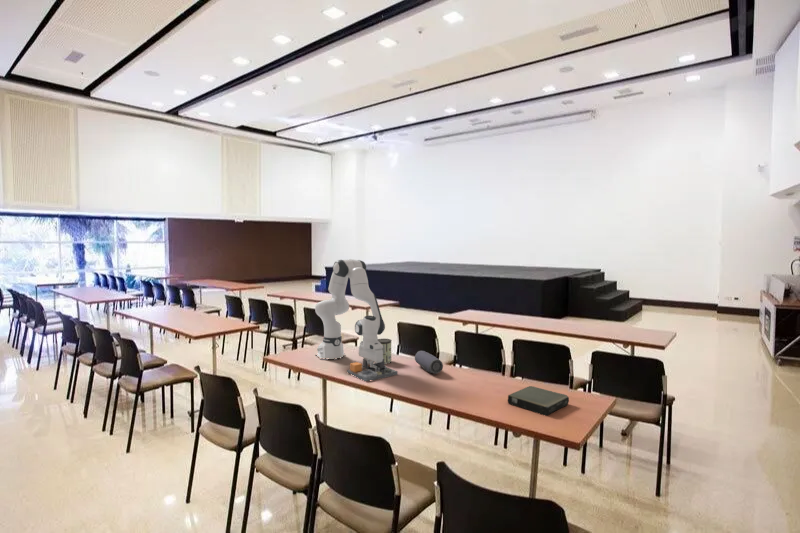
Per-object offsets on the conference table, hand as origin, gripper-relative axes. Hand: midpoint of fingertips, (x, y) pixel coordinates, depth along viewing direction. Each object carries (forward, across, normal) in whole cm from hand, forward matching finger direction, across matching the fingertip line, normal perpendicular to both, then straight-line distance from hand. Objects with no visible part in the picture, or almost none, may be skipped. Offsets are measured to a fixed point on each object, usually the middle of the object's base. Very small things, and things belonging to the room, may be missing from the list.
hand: (370, 366), depth 265 cm
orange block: (+2, -5, -7) cm, 9 cm away
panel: (+4, +2, 0) cm, 4 cm away
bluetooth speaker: (+4, +17, +31) cm, 36 cm away
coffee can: (+4, -15, +21) cm, 26 cm away
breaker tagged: (+2, -4, 0) cm, 4 cm away
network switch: (+4, +91, +35) cm, 98 cm away
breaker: (+2, +1, +7) cm, 7 cm away
